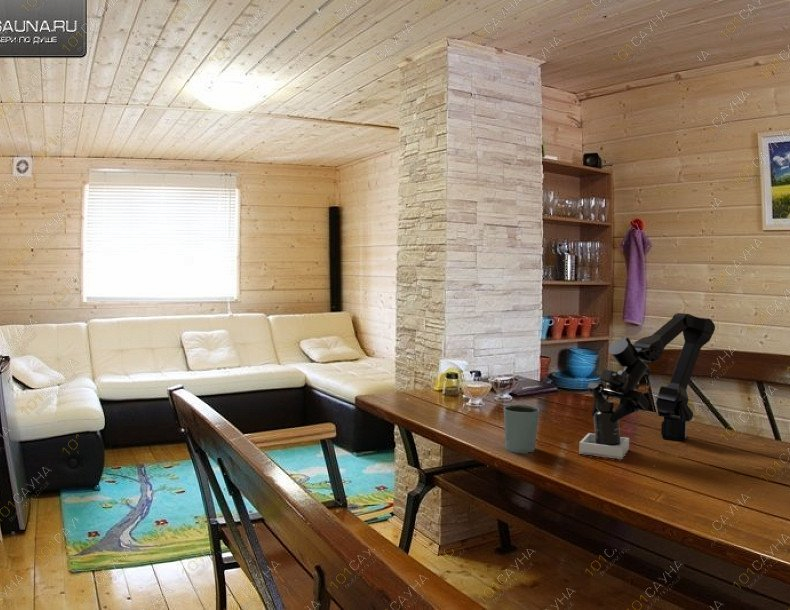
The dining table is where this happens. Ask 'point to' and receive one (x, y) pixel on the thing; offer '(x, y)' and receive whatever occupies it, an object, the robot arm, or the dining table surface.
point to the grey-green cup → (520, 428)
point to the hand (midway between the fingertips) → (602, 419)
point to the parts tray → (603, 447)
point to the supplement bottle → (606, 425)
